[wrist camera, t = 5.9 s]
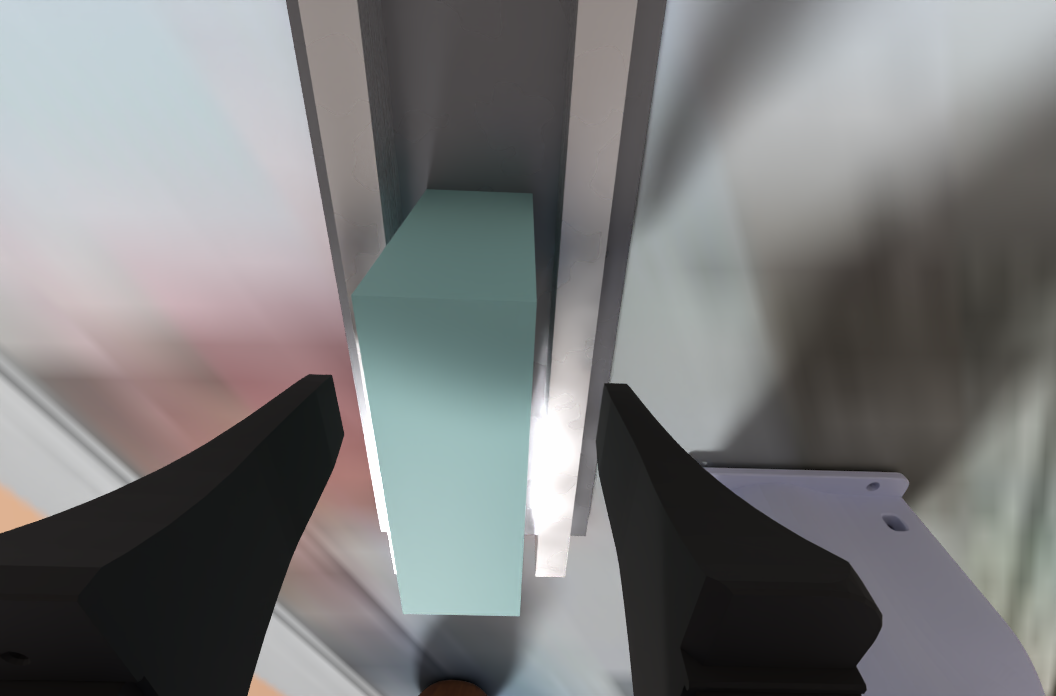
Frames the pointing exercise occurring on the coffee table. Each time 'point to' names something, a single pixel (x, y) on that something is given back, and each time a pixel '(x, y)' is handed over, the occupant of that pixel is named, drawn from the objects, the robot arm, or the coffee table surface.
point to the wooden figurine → (453, 689)
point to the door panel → (453, 396)
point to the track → (494, 181)
